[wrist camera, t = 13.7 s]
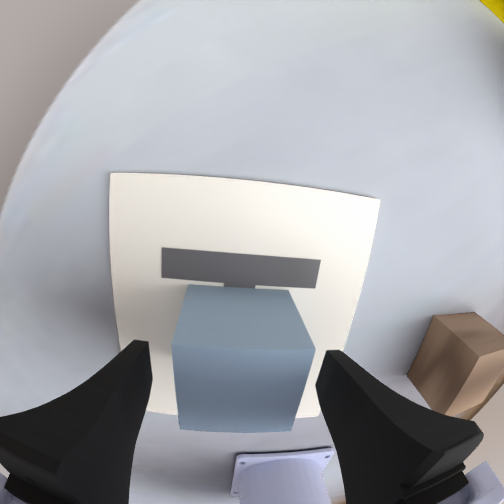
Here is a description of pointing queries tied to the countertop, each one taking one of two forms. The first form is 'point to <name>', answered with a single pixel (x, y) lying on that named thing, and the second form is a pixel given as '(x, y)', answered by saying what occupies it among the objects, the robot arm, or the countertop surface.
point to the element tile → (495, 7)
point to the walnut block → (457, 362)
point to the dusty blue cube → (239, 360)
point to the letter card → (233, 258)
